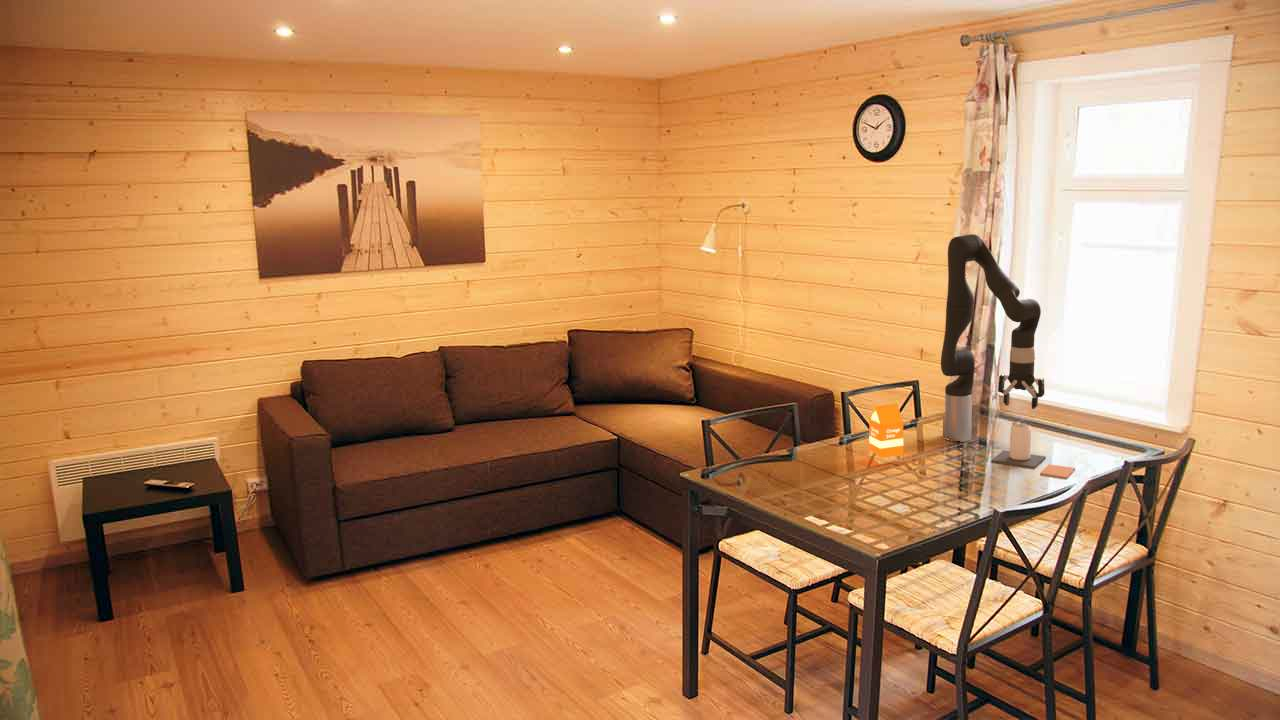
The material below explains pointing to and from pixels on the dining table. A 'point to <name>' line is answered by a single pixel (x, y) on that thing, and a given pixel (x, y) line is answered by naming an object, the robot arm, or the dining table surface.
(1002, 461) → the mat
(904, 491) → the dining table surface
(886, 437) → the orange juice
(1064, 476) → the tile
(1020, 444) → the can
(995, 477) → the dining table surface
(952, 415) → the robot arm
